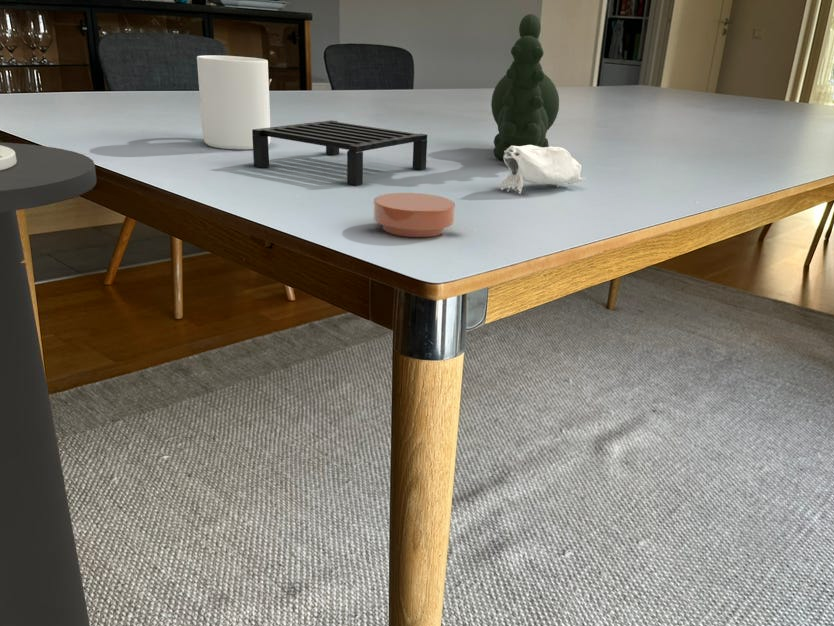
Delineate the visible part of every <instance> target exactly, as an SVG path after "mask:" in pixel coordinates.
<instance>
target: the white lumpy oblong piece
mask: <svg viewBox="0 0 834 626" xmlns="http://www.w3.org/2000/svg"><path fill="white" fill-rule="evenodd" d="M506 150H507V151H504V153H505V154H504V155H503V156H504V160H503V161H504V164H505V165H506V166H507V167H508V170H509V175H507V176H506V177H505V179H503V180H502V181H501V185H502V186H501V187H500V188H499V189H500V190H501V191H504V189H505V188H507V190H506V192H510V189H511V188H512V190H515V191H516V192H517V191H518V194H519V195H522V189H523V187H524V182H527V183H530V184H536V185H550V186H556V188H560V186H561V185H562V184H568V185H574V184H578V183H581V182H583V181H586V180H587V178H586V177H580V176H581V172H582V164H580V162H578V160H576V159H575V158H574V157H572V155H571V153H570V152H569V151H568V150H567V149H566V148H564V147H561V146H549V147H538V146H534V145H525V146H512V145H511V146H510V147H509V148H507V149H506Z"/></svg>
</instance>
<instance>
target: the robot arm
mask: <svg viewBox="0 0 834 626" xmlns="http://www.w3.org/2000/svg"><path fill="white" fill-rule="evenodd" d="M16 162H17V160H16V154H15V151H14V150H12V149H11V148H8V147H5V146H1V145H0V171H2V170H6V169H8V168H11V167H13V166H14V165H15V164H16Z"/></svg>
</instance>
